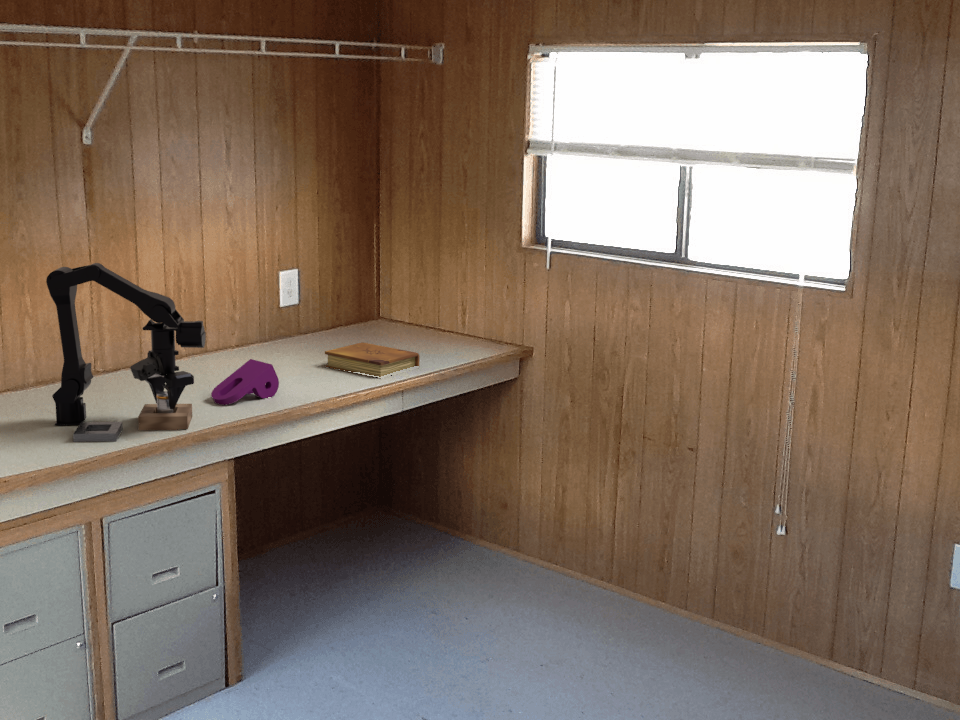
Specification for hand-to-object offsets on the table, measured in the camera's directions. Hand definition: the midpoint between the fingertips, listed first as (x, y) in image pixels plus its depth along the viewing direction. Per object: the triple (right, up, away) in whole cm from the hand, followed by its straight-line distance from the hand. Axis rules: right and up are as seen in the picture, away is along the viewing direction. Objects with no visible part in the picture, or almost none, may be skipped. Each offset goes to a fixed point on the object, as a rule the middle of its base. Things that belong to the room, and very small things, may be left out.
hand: (165, 406), depth 291 cm
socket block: (0, -4, +1) cm, 4 cm away
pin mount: (-14, -7, -11) cm, 19 cm away
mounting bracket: (+14, +1, +27) cm, 30 cm away
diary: (+47, +9, +66) cm, 82 cm away
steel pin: (0, -4, +1) cm, 4 cm away
